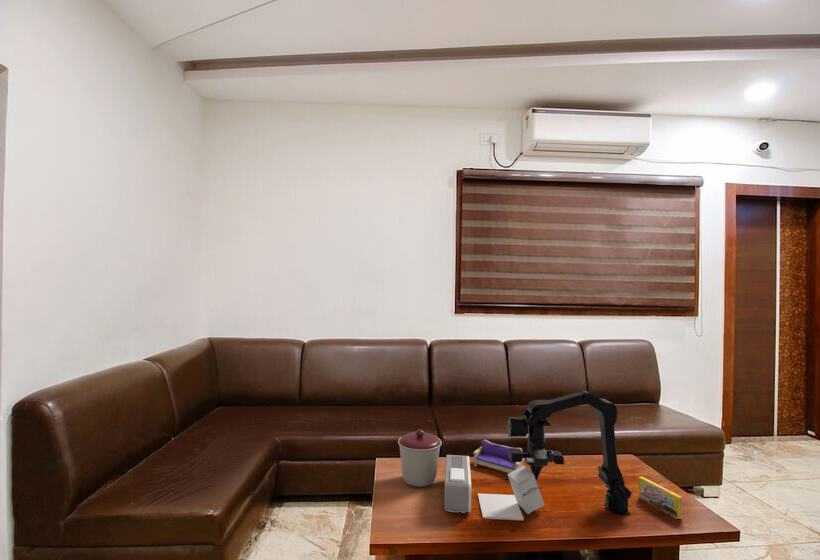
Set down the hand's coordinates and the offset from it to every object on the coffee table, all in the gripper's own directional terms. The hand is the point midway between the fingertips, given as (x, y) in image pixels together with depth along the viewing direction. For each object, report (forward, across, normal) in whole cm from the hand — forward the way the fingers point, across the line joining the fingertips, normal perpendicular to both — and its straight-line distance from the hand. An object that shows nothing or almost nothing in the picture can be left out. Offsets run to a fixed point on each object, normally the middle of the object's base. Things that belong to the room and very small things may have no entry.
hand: (535, 479), depth 148 cm
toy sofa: (+11, -8, +32) cm, 34 cm away
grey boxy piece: (+11, -28, +6) cm, 30 cm away
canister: (+11, -43, +17) cm, 47 cm away
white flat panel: (+11, -13, 0) cm, 17 cm away
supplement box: (+9, -1, 0) cm, 9 cm away
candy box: (+10, +47, +4) cm, 48 cm away
